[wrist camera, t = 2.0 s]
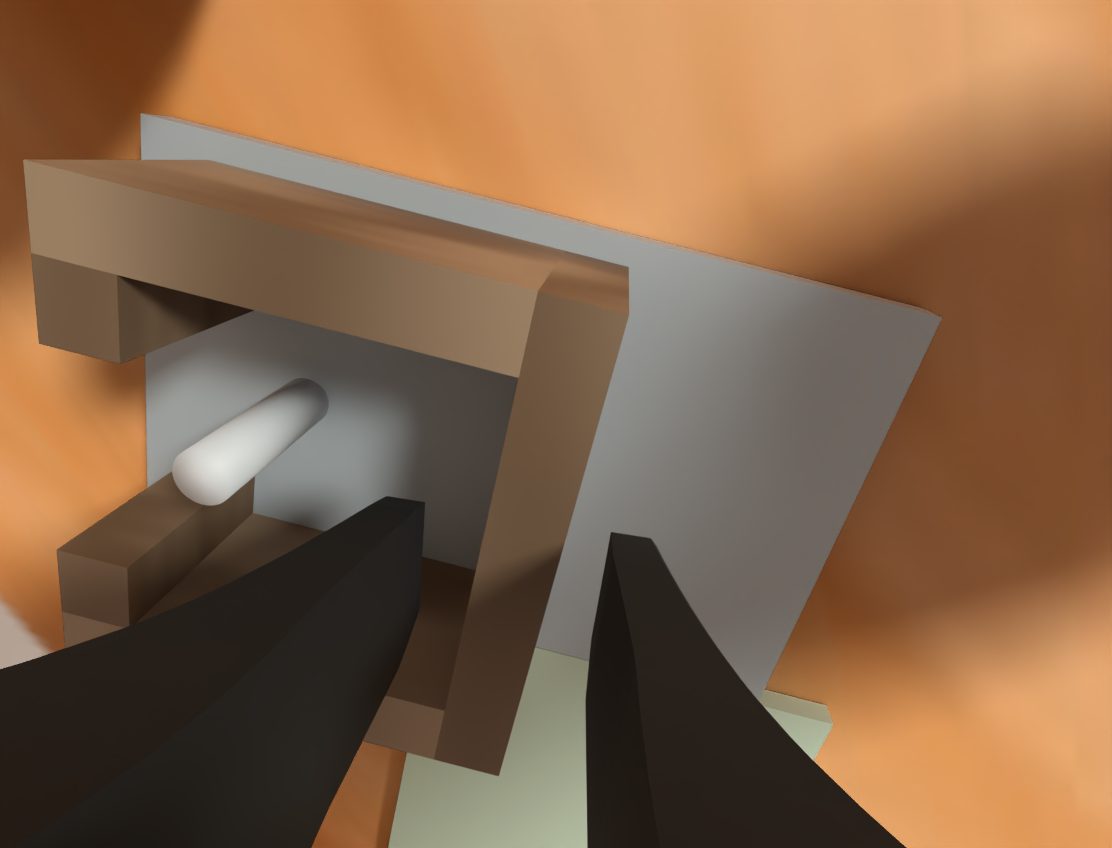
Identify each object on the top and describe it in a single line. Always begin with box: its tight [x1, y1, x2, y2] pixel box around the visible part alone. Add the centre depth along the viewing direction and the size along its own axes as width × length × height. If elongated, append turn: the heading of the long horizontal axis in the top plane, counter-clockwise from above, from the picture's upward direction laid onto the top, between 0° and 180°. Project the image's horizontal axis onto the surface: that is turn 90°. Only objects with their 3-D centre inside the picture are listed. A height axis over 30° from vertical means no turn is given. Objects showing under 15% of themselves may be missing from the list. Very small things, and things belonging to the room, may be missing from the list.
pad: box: [388, 647, 833, 848], centre depth 18 cm, size 10×11×1 cm
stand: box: [140, 113, 942, 701], centre depth 12 cm, size 15×10×4 cm, turn 77°
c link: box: [23, 159, 629, 776], centre depth 12 cm, size 8×9×4 cm
